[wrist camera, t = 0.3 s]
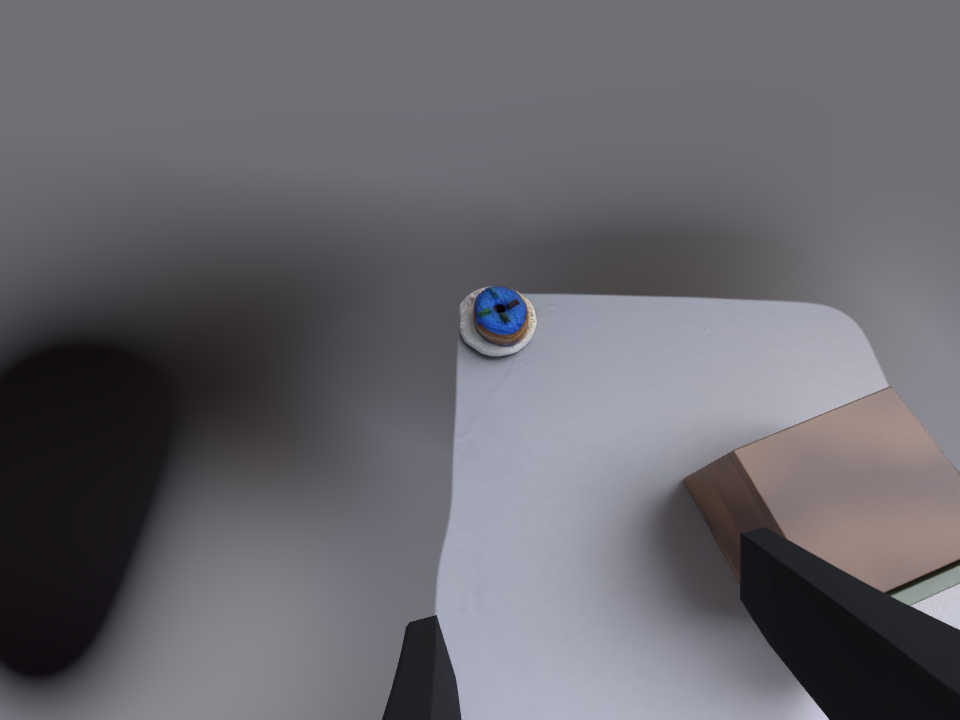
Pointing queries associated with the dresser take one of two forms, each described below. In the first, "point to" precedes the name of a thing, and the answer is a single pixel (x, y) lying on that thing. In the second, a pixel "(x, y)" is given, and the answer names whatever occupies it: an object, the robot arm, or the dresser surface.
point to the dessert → (497, 320)
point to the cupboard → (842, 492)
